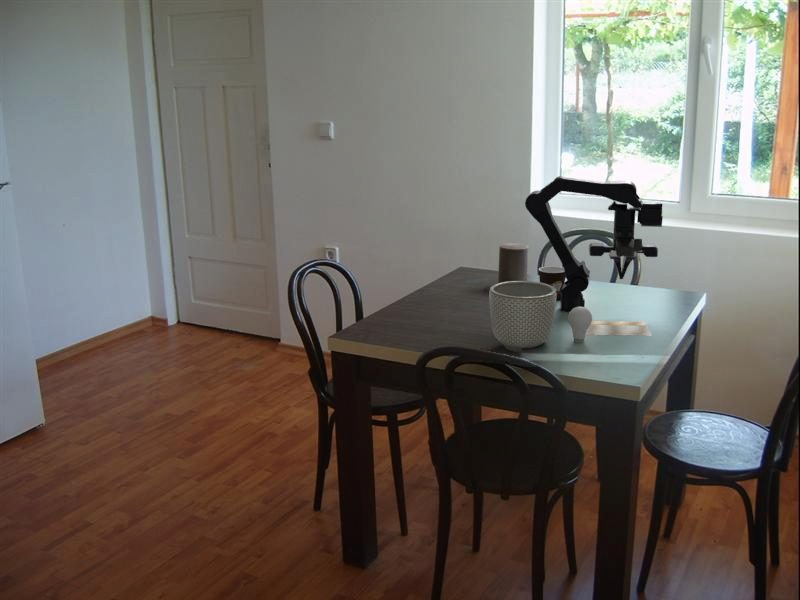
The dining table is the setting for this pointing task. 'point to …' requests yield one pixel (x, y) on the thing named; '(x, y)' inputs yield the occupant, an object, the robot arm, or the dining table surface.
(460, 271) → the dining table surface
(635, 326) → the board
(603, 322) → the oak plank
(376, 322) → the dining table surface
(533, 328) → the planter
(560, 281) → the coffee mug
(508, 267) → the pillar candle
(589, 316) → the lightbulb
